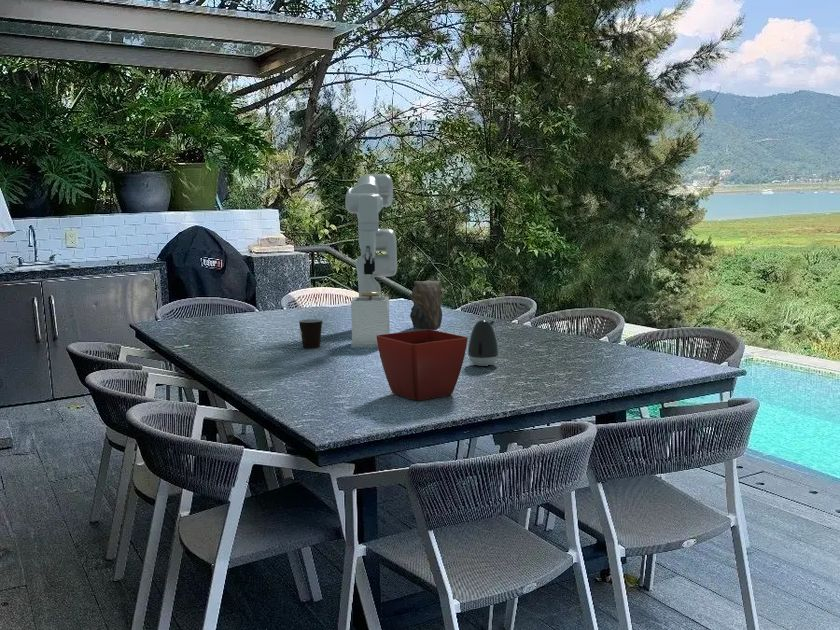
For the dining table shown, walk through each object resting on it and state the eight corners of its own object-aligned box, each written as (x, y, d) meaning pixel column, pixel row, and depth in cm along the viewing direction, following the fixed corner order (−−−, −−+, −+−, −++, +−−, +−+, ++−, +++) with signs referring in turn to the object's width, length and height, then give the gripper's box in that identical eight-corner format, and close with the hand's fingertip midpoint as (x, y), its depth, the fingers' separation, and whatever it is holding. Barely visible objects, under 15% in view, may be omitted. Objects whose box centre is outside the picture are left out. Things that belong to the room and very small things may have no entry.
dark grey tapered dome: (505, 365, 285) (505, 319, 283) (485, 369, 277) (484, 323, 275) (482, 361, 292) (481, 316, 290) (461, 365, 284) (461, 320, 282)
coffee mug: (318, 349, 320) (317, 322, 318) (296, 348, 322) (295, 322, 320) (328, 344, 331) (327, 318, 330) (306, 343, 333) (306, 318, 331)
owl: (409, 328, 368) (408, 281, 366) (421, 324, 380) (420, 279, 377) (436, 329, 363) (435, 282, 360) (447, 325, 375) (447, 279, 372)
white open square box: (354, 341, 336) (353, 297, 333) (390, 341, 335) (389, 296, 333) (351, 347, 322) (349, 301, 319) (388, 347, 321) (387, 300, 319)
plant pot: (470, 395, 241) (469, 336, 239) (414, 406, 230) (413, 344, 228) (429, 384, 257) (429, 328, 255) (375, 393, 246) (374, 335, 244)
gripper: (360, 226, 331) (362, 270, 334) (356, 228, 314) (357, 275, 317) (380, 226, 331) (381, 270, 334) (376, 228, 314) (377, 275, 317)
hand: (369, 272), depth 325 cm, fingers open, 9 cm apart
